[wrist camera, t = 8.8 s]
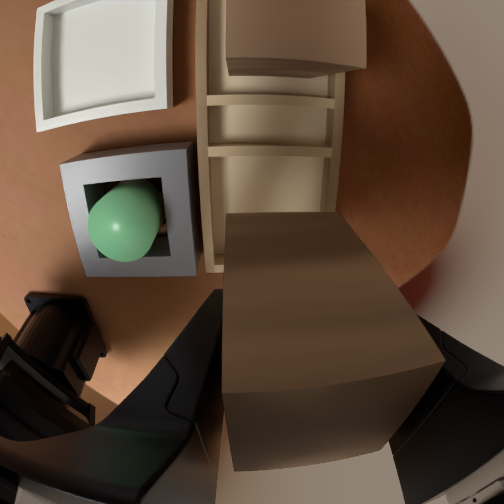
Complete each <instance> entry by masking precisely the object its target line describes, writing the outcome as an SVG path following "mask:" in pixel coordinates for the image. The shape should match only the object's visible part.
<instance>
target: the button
mask: <svg viewBox="0 0 504 504" xmlns="http://www.w3.org/2000/svg"><path fill="white" fill-rule="evenodd" d="M164 218H165V207H164V198H163V196H162V194H161V193H160V191H159V190H158V189H157V188H156V187H155V186H154V185H153V184H152V183H150V182H148V181H146V180H144V179H132V180H123V181H121V182H120V183H118V184H117V185H116V186H115V187H114V188H112V189H111V190H110V191H109V192H108V193H107V194H106V195H105V196H103V197H102V198H101V199H100V200H99V201H98V202H97V203H96V204H95V205H94V206H93V208H92V209H91V211H90V213H89V217H88V232H89V236H90V238H91V240H92V242H93V244H94V245H95V247H96V248H97V249H98V250H99V251H100V252H101V253H102V254H104V255H105V256H107V257H108V258H110V259H113V260H116V261H120V262H130V261H135V260H137V259H139V258H141V257H142V256H144V255H145V254H146V253H147V252H148V250H149V249H150V247H151V245H152V243H153V241H154V239H155V237H156V235H157V233H158V231H159V229H160V227H161V225H162V223H163V220H164Z"/></svg>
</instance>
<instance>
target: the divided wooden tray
mask: <svg viewBox="0 0 504 504" xmlns="http://www.w3.org/2000/svg"><path fill="white" fill-rule="evenodd" d="M195 64H196V121H197V148H198V169H199V187H200V204H201V218H202V232H203V244H204V256H205V268H206V273H219V272H224V244H225V218H226V213H258V212H335V209H336V200H337V191H338V181H339V171H340V159H341V147H342V133H343V117H344V95H345V72H341V73H335V74H330V75H324V76H319V77H314V78H310V79H307V78H294V77H275V76H229V74H228V68H227V63H226V0H196V48H195Z"/></svg>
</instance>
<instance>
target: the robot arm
mask: <svg viewBox="0 0 504 504" xmlns="http://www.w3.org/2000/svg"><path fill="white" fill-rule="evenodd" d="M24 300H25V303H26V305H27V307H28V309H29V311H30V315H29V316H28V318H27V319H26V321H25V322H24V324H23V325H22V327H21V329H20V330H19V332H18V333H17V335H16V337H15V338H14V340H12V337H11V336H10V335H8V333H6V334H4V335H3V337H0V504H215V498H216V488H217V477H218V467H219V456H220V447H221V437H222V428H223V418H224V404H223V397H222V324H223V289H215V290H213V291H212V293H211V294H210V295H209V297H208V298H207V299H206V300H205V302H204V303H203V304H202V306H201V307H200V308H199V310H198V311H197V312H196V313H195V315H194V316H193V317H192V319H191V320H190V321H189V323H188V324H187V325H186V327H185V328H184V329H183V330H182V332H181V333H180V334H179V336H178V337H177V338H176V340H175V341H174V342H173V343H172V345H171V346H170V347H169V349H168V350H167V351H166V353H165V354H164V356H163V357H162V358H161V359H160V360H159V362H158V363H157V364H156V365H155V367H154V368H153V369H152V370H151V372H150V373H149V374H148V375H147V376H146V378H145V379H144V380H143V381H142V382H141V383H140V384H139V385H138V386H137V387H136V388H135V389H134V390H133V391H132V392H131V393H130V394H129V395H128V396H127V397H126V398H125V399H124V400H123V401H122V402H121V403H120V404H119V405H118V406H117V407H116V408H115V409H114V410H113V411H112V412H111V413H110V414H109V415H108V416H107V417H106V418H105V419H104V420H102V421H101V422H100V423H98V424H96V425H95V406H93V405H92V404H90V403H88V402H86V401H85V400H83V399H82V398H81V397H80V396H81V394H82V390H83V387H84V385H85V382H86V381H90V380H91V379H92V376H93V373H94V370H95V367H96V365H97V362H98V359H99V357H106V355H107V350H106V347H105V345H104V342H103V339H102V337H101V335H100V332H99V330H98V328H97V325H96V323H95V321H94V319H93V316H92V314H91V311H90V309H89V306H88V303H87V301H86V299H85V298H84V297H82V296H68V295H45V294H27V295H26V296H25V298H24ZM80 302H81V303H82V304H81V303H80ZM416 315H417V314H416ZM417 316H418V318H419V319H420V321H421V322H422V324H423V325H424V327H425V328H426V330H427V331H428V333H429V334H430V336H431V338H432V339H433V341H434V342H435V344H436V345H437V347H438V349H439V350H440V352H441V353H442V355H443V357H444V358H445V360H446V361H445V363H444V364H443V366H442V368H441V369H440V371H439V372H438V374H437V375H436V377H435V379H434V380H433V382H432V383H431V385H430V386H429V388H428V389H427V391H426V392H425V394H424V395H423V396H422V398H421V399H420V401H419V402H418V403H417V405H416V406H415V408H414V409H413V410H412V412H411V413H410V414H409V416H408V417H407V418H406V420H405V421H404V422H403V423H402V425H401V426H400V427H399V428H398V430H397V431H396V432H395V433H394V435H393V436H392V437H391V438H390V439H389V440H388V441H389V444H390V448H391V451H392V455H393V459H394V462H395V466H396V469H397V473H398V477H399V480H400V485H401V488H402V492H403V496H404V501H405V504H425V503H428V502H430V501H432V500H434V499H437V498H439V497H441V496H443V495H445V494H446V497H447V500H448V503H449V504H504V366H502V365H500V364H498V363H496V362H494V361H493V360H491V359H489V358H487V357H485V356H484V355H482V354H480V353H478V352H476V351H475V350H473V349H471V348H469V347H468V346H466V345H464V344H462V343H461V342H459V341H458V340H456V339H454V338H453V337H451V336H450V335H448V334H447V333H445V332H444V331H441V330H440V329H439V328H437V327H436V326H434V325H433V324H431V323H429V322H428V321H426V320H425V319H423V318H422V317H420V316H419V315H417Z"/></svg>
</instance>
